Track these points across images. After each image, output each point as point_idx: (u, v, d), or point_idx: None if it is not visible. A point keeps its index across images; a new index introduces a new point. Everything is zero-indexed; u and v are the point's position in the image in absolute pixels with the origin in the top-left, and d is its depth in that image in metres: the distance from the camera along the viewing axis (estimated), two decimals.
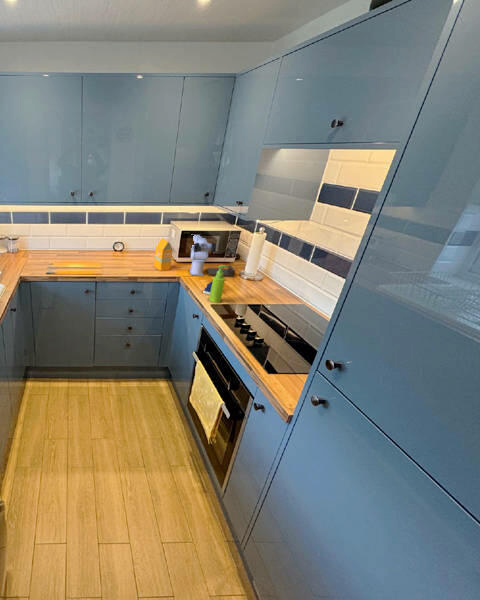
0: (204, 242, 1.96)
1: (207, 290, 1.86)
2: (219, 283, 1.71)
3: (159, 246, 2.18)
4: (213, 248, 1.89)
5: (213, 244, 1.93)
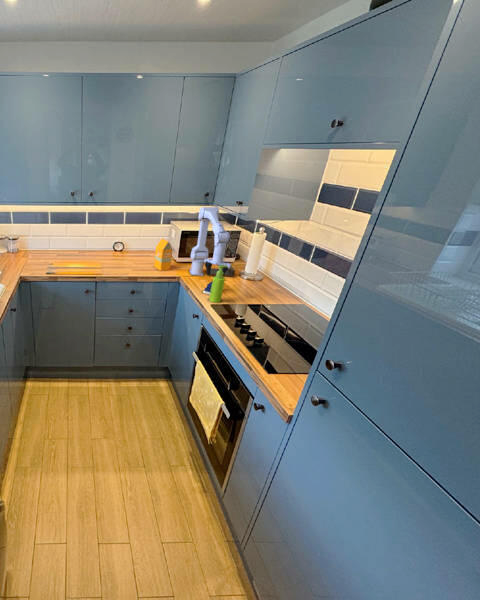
0: (214, 263, 1.82)
1: (207, 290, 1.86)
2: (219, 283, 1.71)
3: (159, 246, 2.18)
4: None
5: (222, 270, 1.80)
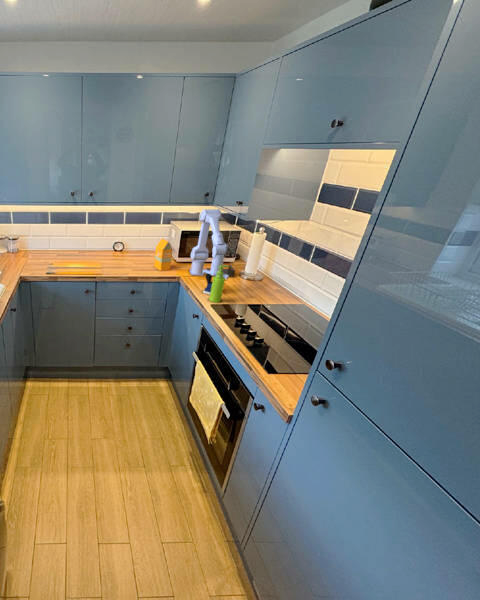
0: None
1: (207, 290, 1.86)
2: (219, 283, 1.71)
3: (159, 246, 2.18)
4: None
5: None
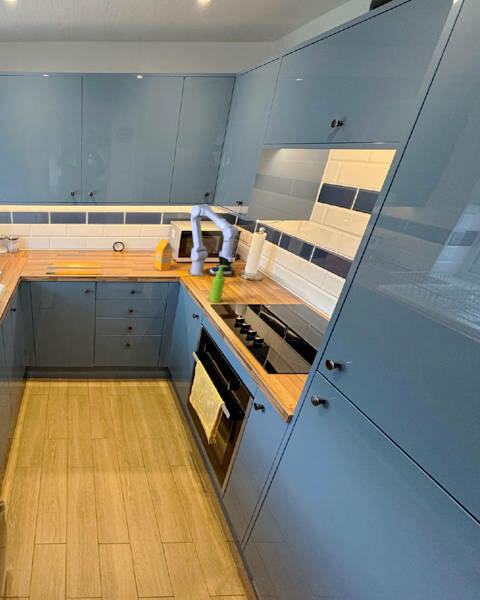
0: None
1: (212, 269, 1.97)
2: (219, 283, 1.71)
3: (159, 246, 2.18)
4: (223, 269, 1.95)
5: (223, 262, 1.92)
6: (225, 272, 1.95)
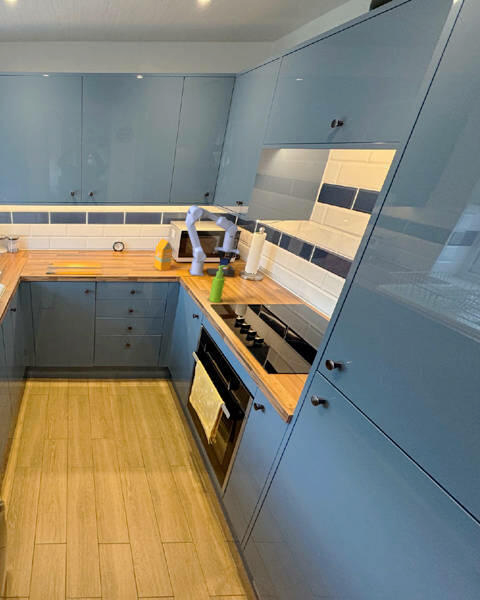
0: (225, 251, 2.06)
1: None
2: (219, 283, 1.71)
3: (159, 246, 2.18)
4: (228, 262, 2.09)
5: (230, 255, 2.06)
6: (228, 264, 2.11)
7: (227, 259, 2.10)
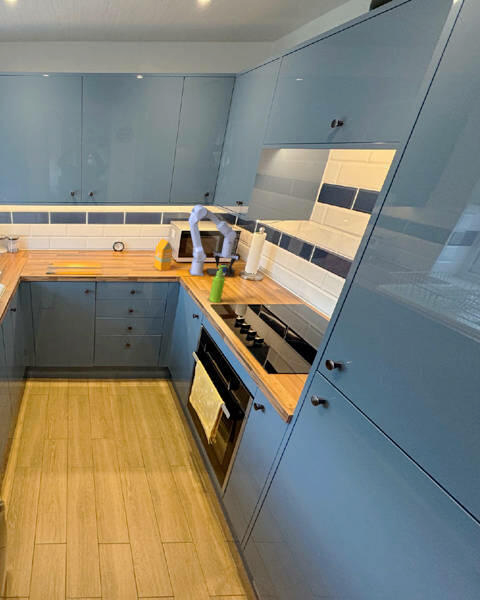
0: (224, 257, 2.08)
1: None
2: (219, 283, 1.71)
3: (159, 246, 2.18)
4: None
5: (231, 262, 2.07)
6: (226, 270, 2.13)
7: (226, 265, 2.12)
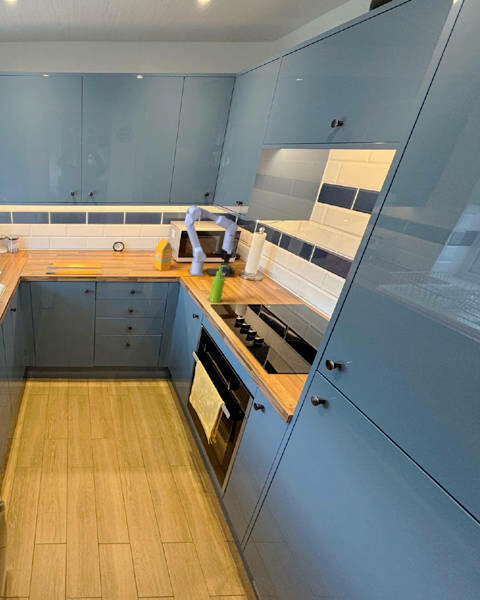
0: None
1: None
2: (219, 283, 1.71)
3: (159, 246, 2.18)
4: None
5: None
6: (226, 270, 2.13)
7: (226, 265, 2.12)
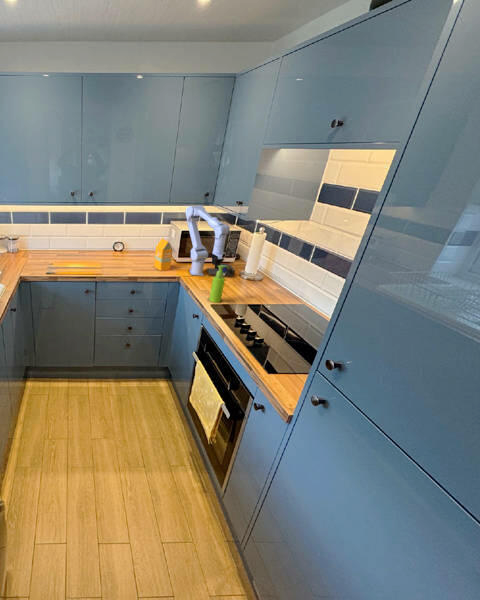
0: None
1: None
2: (219, 283, 1.71)
3: (159, 246, 2.18)
4: None
5: None
6: (226, 270, 2.13)
7: (226, 265, 2.12)
